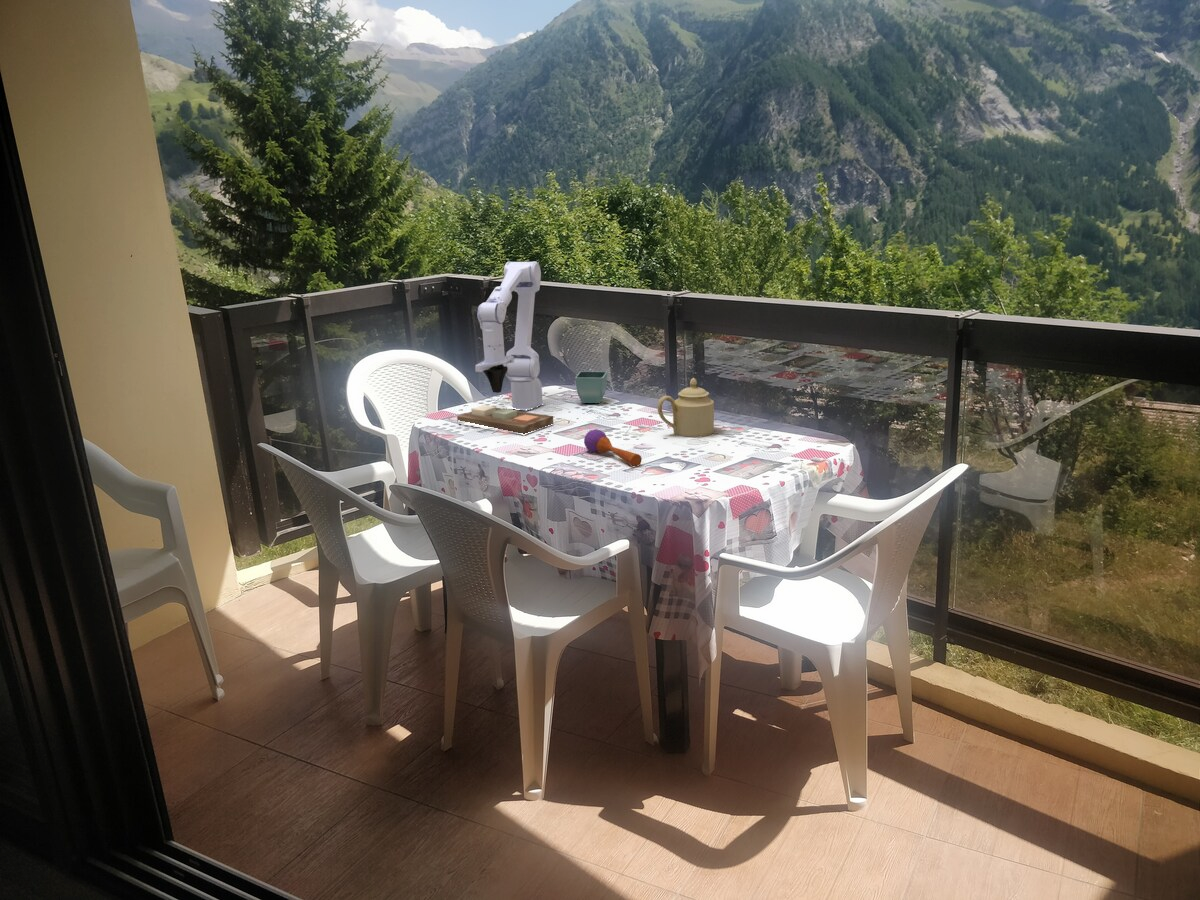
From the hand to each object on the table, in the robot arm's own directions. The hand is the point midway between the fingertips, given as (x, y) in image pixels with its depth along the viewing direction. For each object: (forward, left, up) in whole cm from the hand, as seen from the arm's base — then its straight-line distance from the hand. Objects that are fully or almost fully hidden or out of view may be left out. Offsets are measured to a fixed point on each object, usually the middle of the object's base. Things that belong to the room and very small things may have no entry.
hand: (497, 392), depth 272 cm
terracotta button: (0, +10, -9) cm, 14 cm away
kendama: (+11, +48, -10) cm, 50 cm away
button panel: (0, +2, -9) cm, 10 cm away
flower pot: (-33, +9, -10) cm, 36 cm away
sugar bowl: (-17, +53, -10) cm, 57 cm away
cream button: (0, -6, -8) cm, 10 cm away
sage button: (0, +2, -8) cm, 8 cm away
